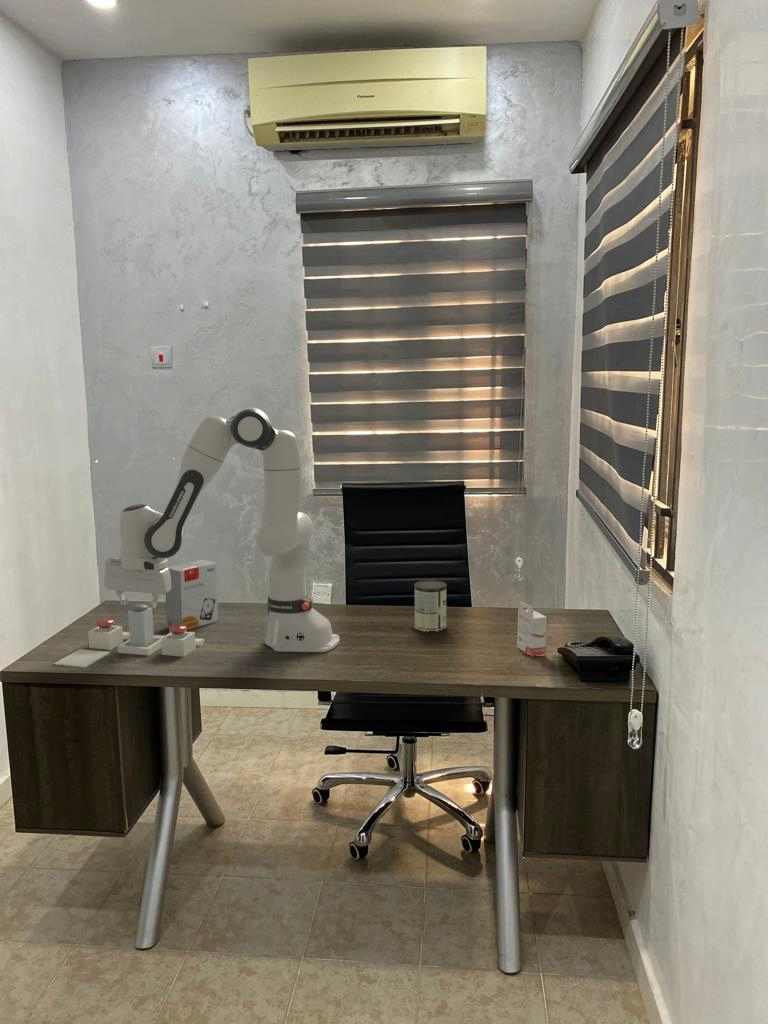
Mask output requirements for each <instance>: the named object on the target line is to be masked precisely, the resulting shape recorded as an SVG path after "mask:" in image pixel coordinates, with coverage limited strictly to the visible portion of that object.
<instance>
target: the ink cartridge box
mask: <svg viewBox="0 0 768 1024" xmlns="http://www.w3.org/2000/svg"><path fill="white" fill-rule="evenodd" d="M525 608H526V609H525ZM547 620H548V619H547V616H546V615H544V614H542V613H540V612H538V611H536V610H534V607H532V606H531V605H528V604H527V603H524V602H523V601H521V600H520V601H519V603H518V611H517V638H516V648H517V647H518V648H520V649H521V650H523V651H525V652H526V653H528V654H530V655H531V656H536V655H542V654H545V655H546V650H547V649H546V648H547V647H546V645H547Z"/></svg>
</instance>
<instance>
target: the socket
mask: <svg viewBox="0 0 768 1024" xmlns="http://www.w3.org/2000/svg"><path fill="white" fill-rule="evenodd" d="M164 636H165V635H163V634H162V635H161V634H154V643H153V644H152V645H150V646H149V647H136V646H130V637H129V631H128V632H127V631H126V632H125V631H123V640H126V641H123V643H121V644H120V645H118V646H117V654H126V655H127V654H129V655H139V656H151V655H152V654H154V653H155V652H156V651H158V650H160V649H162V640H161V638H163V637H164ZM204 644H205V639H204V638H199V637H198V638H196V637H195V645H196V647H202V646H203V645H204Z"/></svg>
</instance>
